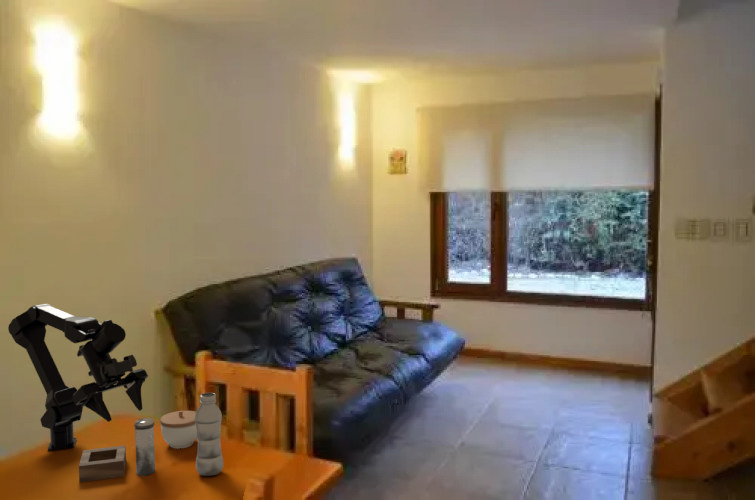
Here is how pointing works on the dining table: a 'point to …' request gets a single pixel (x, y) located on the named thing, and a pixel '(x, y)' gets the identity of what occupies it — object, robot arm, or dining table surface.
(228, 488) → the dining table surface
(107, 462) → the socket block
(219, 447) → the plastic bottle
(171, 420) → the lidded jar
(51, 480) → the dining table surface
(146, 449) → the silver metal can
